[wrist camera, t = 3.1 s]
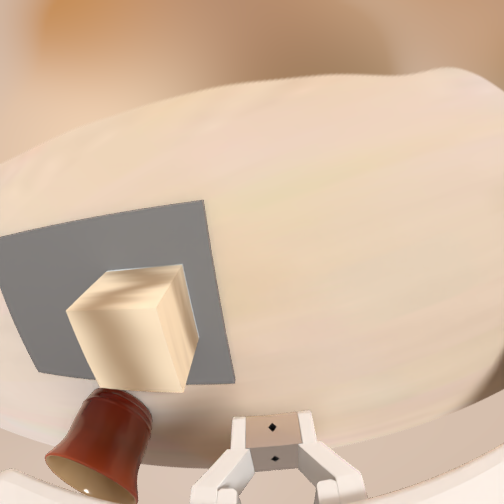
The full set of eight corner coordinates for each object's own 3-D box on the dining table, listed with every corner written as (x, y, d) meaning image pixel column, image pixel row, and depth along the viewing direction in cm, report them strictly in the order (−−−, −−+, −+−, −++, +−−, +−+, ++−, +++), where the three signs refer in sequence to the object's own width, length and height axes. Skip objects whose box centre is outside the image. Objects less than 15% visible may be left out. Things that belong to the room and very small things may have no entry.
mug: (119, 366, 24) (74, 451, 15) (179, 423, 27) (158, 507, 17) (58, 393, 27) (19, 456, 17) (110, 440, 29) (84, 504, 20)
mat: (203, 200, 19) (202, 201, 19) (235, 379, 24) (234, 383, 24) (-11, 239, 21) (-15, 241, 20) (40, 369, 26) (38, 371, 25)
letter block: (182, 263, 20) (156, 308, 15) (199, 337, 22) (183, 392, 17) (107, 270, 21) (65, 310, 15) (128, 338, 23) (100, 387, 17)
